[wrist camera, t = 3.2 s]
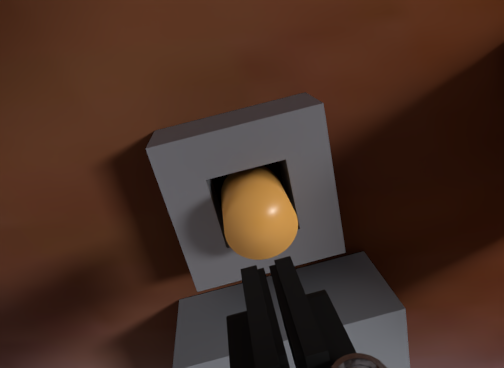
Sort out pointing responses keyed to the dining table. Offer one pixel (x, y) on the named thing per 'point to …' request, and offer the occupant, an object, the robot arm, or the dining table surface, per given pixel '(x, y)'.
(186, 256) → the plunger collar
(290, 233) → the release plunger
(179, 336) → the grey square holder
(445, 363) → the dining table surface
